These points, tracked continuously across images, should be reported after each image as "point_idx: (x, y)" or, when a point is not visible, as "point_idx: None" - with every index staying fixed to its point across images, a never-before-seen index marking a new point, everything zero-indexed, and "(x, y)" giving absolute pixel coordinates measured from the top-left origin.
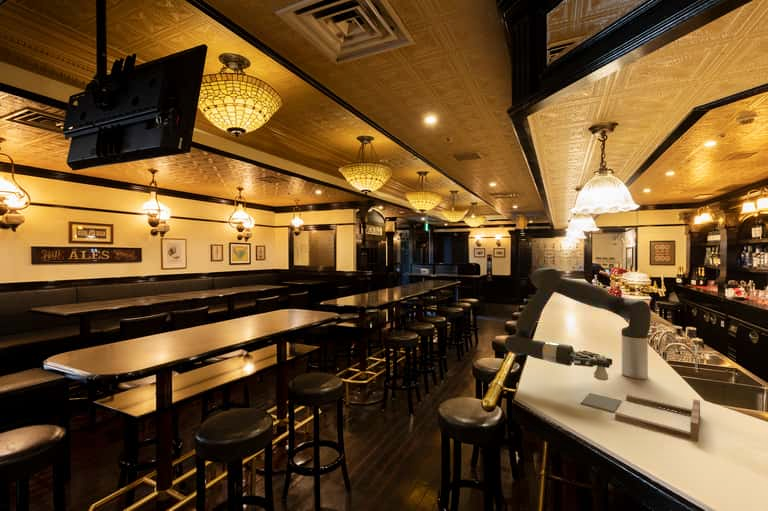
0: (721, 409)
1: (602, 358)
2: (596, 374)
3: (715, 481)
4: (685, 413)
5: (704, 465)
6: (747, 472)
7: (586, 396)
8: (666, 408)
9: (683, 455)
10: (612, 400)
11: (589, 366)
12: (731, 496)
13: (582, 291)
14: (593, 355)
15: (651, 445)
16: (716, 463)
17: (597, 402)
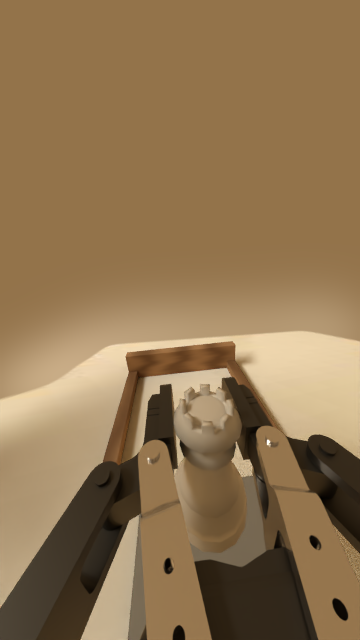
0: (85, 365)
1: (224, 398)
2: (244, 504)
3: (311, 344)
4: (136, 382)
5: (289, 351)
6: (258, 338)
7: None
8: (132, 402)
9: (292, 363)
10: None
11: (339, 494)
12: (320, 337)
13: None
14: (164, 495)
15: (316, 386)
16: (270, 348)
17: None
